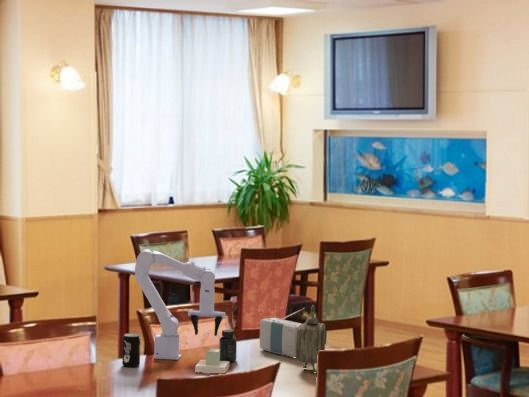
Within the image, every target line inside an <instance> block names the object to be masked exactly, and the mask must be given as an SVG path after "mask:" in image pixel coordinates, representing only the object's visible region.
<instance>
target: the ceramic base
mask: <svg viewBox="0 0 529 397" xmlns="http://www.w3.org/2000/svg"><path fill="white" fill-rule="evenodd" d="M194 368H195V370H194V371H195V373H196V372H198V373H196V374H200V373H199V372H202V373H201V374H210V373H225V372H226V373H227V372H228V370H229V369H230V362H229V361H220V363H219V364H218V365H206V359H200V360H199V361H198V363H196V365H195V366H194ZM226 373H225V374H226Z"/></svg>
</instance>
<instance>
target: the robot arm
mask: <svg viewBox="0 0 529 397" xmlns="http://www.w3.org/2000/svg"><path fill="white" fill-rule="evenodd" d="M195 263H196V262H194V261H191V262H190V261H187V262H182V261H180V260H178V259H175V258H173V257H171V256H169V255H168V254H165V253H162V252H159V251H156V250H153V249H151V248H145V249H143V250H141V251H140V253H139V254H138V255H137V257H136V259H135V272H134V279H135V280H136V281H137V283H138V286H139V287H140V289H141V290H142V292H143V294H144V296H145V297H146V299H147V300H148V302H149V304H150V306H151V308H152V309H153V311H154V312H155V314H156V316H157V318H158V321H159V324H160V326H161V333H160V334H156V335H155V337H154V349H153V350H154V352H153V354H154V355H153V359H156V360H157V359H159V360H179V359H180V357H182V354H180V333H179V332H178V329H179V326H180V321H179V320H178V318H177V317H176V316H174V315H173V314H172V312H171V311H170V310H169V309H168V307H167V305H166V304H165V302H164V300H163V299H162V297H161V296H160V293H159V291H158V289H157V288H156V286H155V285H154V283H153V281H152V280H151V278H150V276H149V272H150V269H151V266H152V265H153V264H154V266H157V265H165V266H167V267H170V268H172V269H175V270H178V271H180V272H181V274H182V275H183V277H186V278H189V279H192V280H193V281H196V282H200V289H199V310H188V311H187V316H188V317H189V318H190V321H191V324H192V326H193V330H194V335H195V336H197V335H198V334H199V317H206V318H214V337H217V335H218V331H219V327H220V325H221V323H222V321H223V319H224V318H226V311H225V312H224V311H216V310H215V295H216V294H215V293H216V292H215V290H216V289H215V282H216V274H215V272H214V271H213V270H211V268H206V267H205V266H203V267H202V266H200V265H197V264H195Z"/></svg>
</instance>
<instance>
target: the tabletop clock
mask: <svg viewBox="0 0 529 397" xmlns="http://www.w3.org/2000/svg"><path fill="white" fill-rule="evenodd" d="M315 308H316V306H315V305H314V304H312V305H311V307H310V316H309V317H308V318H306V320H305V322H304V323H301V325H300V326H299V327H298V329H297V337H296V358H295V359H296V360H297V361H298V362H300V363H304V365H303V366H302V369H303V368H308V367H307V365H308V363H309V364H310V365H311V367H312V369H313V370H312V373H313V372H316V370H317V369H316V368H315V364H317V355H318V351H319V350H325V351H326V323H322V322H321V323H320V322H319V321H320V320H319V319H318V318H317V317H315V310H316V309H315Z"/></svg>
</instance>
